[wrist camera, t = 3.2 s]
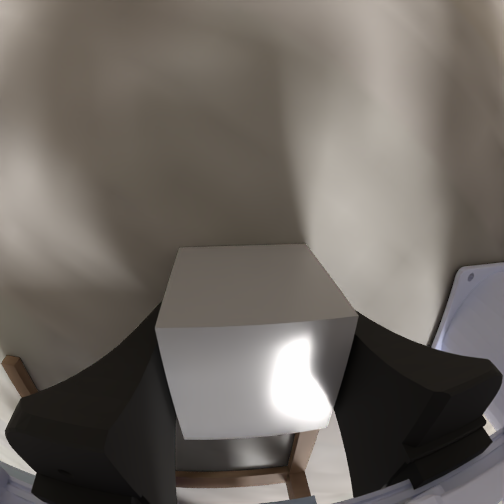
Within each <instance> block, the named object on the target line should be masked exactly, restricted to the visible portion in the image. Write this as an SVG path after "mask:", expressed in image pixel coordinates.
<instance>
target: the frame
mask: <svg viewBox="0 0 504 504" xmlns="http://www.w3.org/2000/svg"><path fill="white" fill-rule="evenodd" d="M1 364H2V366H3V367H4V369H5V371H6V373H7V374H8V376H9V378H10V380H11V381H12V383H13V385H14V386H15V388H16V389H17V391H18V393H19V394H20V396H21V397H25V396H28V395H31V394H34V393H37V392H38V390H37V388H36V387H35V385H34V383H33V382H32V380H31V378H30V376H29V374H28V373H27V371H26V369H25V367H24V365H23V363H22V361H21V359H20V358H19V357H14V356H9V355H7V356H6V357H5V358H4V360H3V361H2V363H1ZM318 432H319V429H316V430H311V431H304V432H298V433H295V436H294V441H293V445H292V449H291V454H290V458H289V462H288V466H282V467H275V468H265V469H255V470H241V471H219V472H189V471H175V478H176V487H182V488H230V487H248V486H259V485H269V484H278V483H285V482H286V485H287V490H288V495H289V499H290V500H292V499H298V498H304V497H309V496H311V494H310V490H309V487H308V483H307V479H306V475H305V469H306V466H307V464H308V461H309V458H310V455H311V452H312V450H313V447H314V444H315V441H316V438H317V435H318Z"/></svg>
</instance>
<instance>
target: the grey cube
mask: <svg viewBox="0 0 504 504" xmlns="http://www.w3.org/2000/svg"><path fill="white" fill-rule="evenodd" d="M358 317H359V315H358V314H357V313H356V311H355V310H354V308H353V307H352V306H351V304H350V303H349V301H348V300H347V299H346V297H345V296H344V294H343V293H342V292H341V290H340V289H339V288H338V286H337V285H336V283H335V282H334V281H333V279H332V278H331V277H330V275H329V274H328V273H327V271H326V270H325V269H324V267H323V266H322V265H321V263H320V262H319V261H318V259H317V258H316V257H315V255H314V254H313V253H312V251H311V250H310V249H309V247H308V246H307V245H306V244H272V245H240V246H209V247H181V248H179V250H178V253H177V256H176V259H175V262H174V265H173V268H172V272H171V275H170V278H169V281H168V284H167V288H166V291H165V294H164V298H163V301H162V305H161V308H160V311H159V315H158V318H157V322H156V326H155V331H156V335H157V340H158V345H159V349H160V353H161V358H162V362H163V366H164V370H165V374H166V378H167V382H168V386H169V389H170V393H171V397H172V400H173V404H174V407H175V411H176V414H177V417H178V421H179V424H180V427H181V430H182V434H183V437H184V440H215V439H239V438H253V437H265V436H274V435H283V434H291V433H298V432H304V431H311V430H316V429H322V428H327V426H328V423H329V420H330V417H331V414H332V411H333V408H334V405H335V402H336V399H337V396H338V392H339V389H340V386H341V382H342V379H343V376H344V372H345V369H346V365H347V361H348V358H349V354H350V350H351V346H352V342H353V338H354V334H355V330H356V326H357V321H358Z"/></svg>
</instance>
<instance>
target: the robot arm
mask: <svg viewBox="0 0 504 504" xmlns="http://www.w3.org/2000/svg"><path fill="white" fill-rule="evenodd" d="M162 301H163V300H162ZM161 305H162V302H161V303H160V304H159V305H158V306H157V307H156V308H155V309H154V310H153V311H152V312H151V313H150V314H149V316H148V317H147V318H146V319H145V320H144V321H143V322H142V323H141V324H140V325H139V326H138V327H137V328H136V329H135V330H134V331H133V332H132V333H131V334H130V335H129V336H128V337H127V338H126V339H125V340H124V341H123V342H122V343H121V344H119V345H118V346H117V347H116V348H115V349H114V350H112V351H111V352H110V353H108V354H107V355H106V356H104V357H103V358H102V359H100V360H99V361H98V362H96V363H94V364H93V365H91V366H90V367H88V368H86V369H85V370H83V371H82V372H80V373H78V374H77V375H75V376H73V377H71V378H69V379H67V380H65V381H63V382H61V383H59V384H57V385H55V386H52V387H50V388H48V389H45V390H42V391H40V392H37V393H34V394H31V395H28V396H25V397H22V398H21V399H20V401H19V403H18V405H17V407H16V409H15V411H14V413H13V415H12V417H11V419H10V421H9V423H8V425H7V428H6V430H5V436H6V438H7V440H8V442H9V444H10V445H11V447H12V448H13V449H14V450H15V451H16V453H17V454H18V455H19V456H20V457H21V458H22V459H23V460H24V461H25V462H26V463H27V464H28V465H29V466H30V467H31V468H32V469H33V470H34V471H36V472H37V473H36V477H35V480H34V483H33V485H31V484H28V483H26V482H23V481H21V480H19V479H16V478H14V477H12V476H10V475H8V473H7V472H6V471H5V470H4V469H3V468H2V467H1V466H0V504H177V497H176V478H175V424H176V411H175V407H174V404H173V400H172V397H171V393H170V389H169V386H168V382H167V378H166V374H165V370H164V366H163V362H162V358H161V353H160V349H159V345H158V340H157V335H156V331H155V326H156V322H157V318H158V315H159V311H160V308H161ZM355 311H356V310H355ZM356 313H357V314H358V315H359V317H358V321H357V326H356V330H355V334H354V338H353V342H352V346H351V350H350V354H349V358H348V361H347V365H346V369H345V372H344V376H343V379H342V382H341V386H340V389H339V392H338V396H337V399H336V402H335V405H334V411H335V414H336V418H337V421H338V425H339V428H340V432H341V436H342V440H343V444H344V448H345V452H346V457H347V462H348V467H349V472H350V477H351V484H352V490H353V497H354V498H352V499H349V500H345V501H341V502H337V503H333V504H498V503H499V502H500V501H501V500H502V502H503V504H504V262H501V263H492V264H483V265H474V266H465V267H461V268H460V269H459V270H458V272H457V274H456V276H455V280H454V283H453V287H452V290H451V293H450V296H449V300H448V303H447V306H446V309H445V312H444V314H443V317H442V320H441V323H440V326H439V328H438V331H437V334H436V336H435V339H434V341H433V344H432V346H431V347H428V346H425V345H422V344H419V343H416V342H414V341H411V340H409V339H407V338H405V337H402V336H400V335H398V334H396V333H394V332H392V331H390V330H388V329H386V328H384V327H382V326H380V325H379V324H377V323H375V322H373V321H372V320H370V319H368V318H367V317H365V316H364V315H362V314H360V313H359V312H357V311H356ZM483 413H484V415H485V416H486V417H487V419H488V420H489V422H490V423H491V424H492V426H493V427H494V429H495V430H496V431H497V432H495V433H494V434H492V435H491V436H489V435H488V434H487V433H486V431H485V430H484V428H483V426H485V424H486V420H485V418H484V417H483V416H482V415H483Z"/></svg>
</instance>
